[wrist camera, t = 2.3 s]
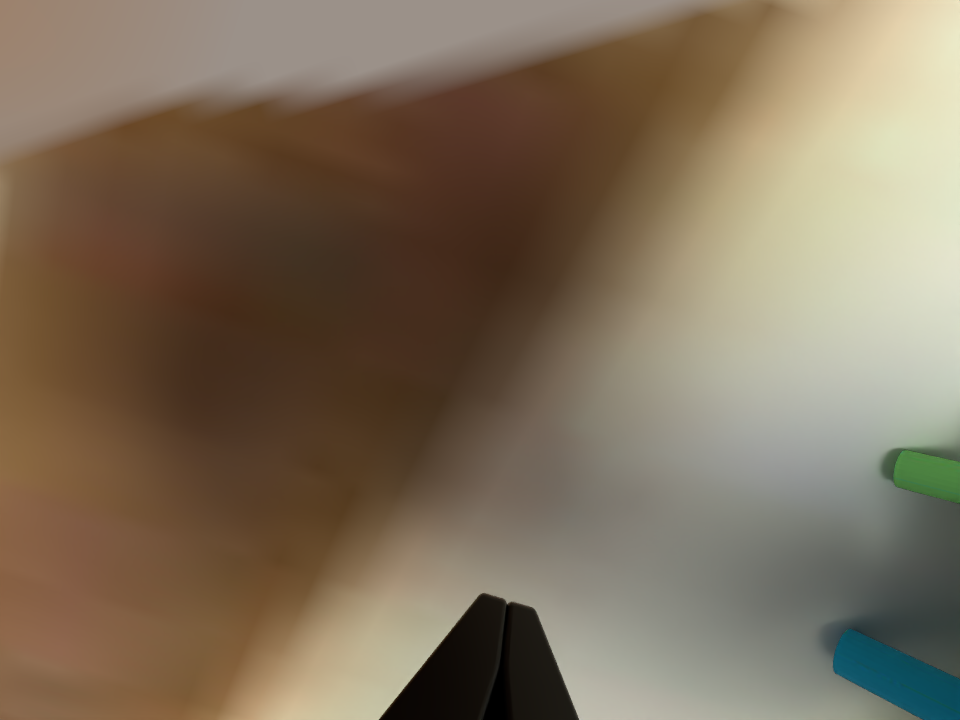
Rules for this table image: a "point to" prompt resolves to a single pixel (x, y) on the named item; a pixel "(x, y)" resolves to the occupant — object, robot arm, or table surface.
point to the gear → (882, 669)
